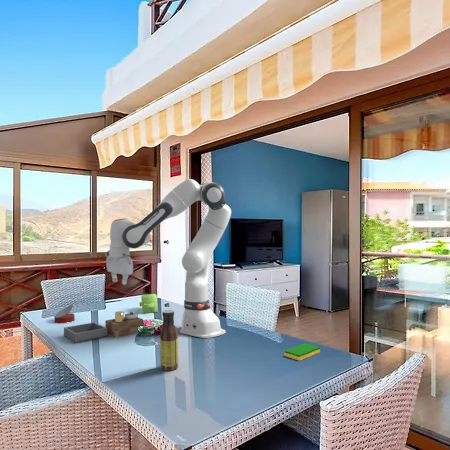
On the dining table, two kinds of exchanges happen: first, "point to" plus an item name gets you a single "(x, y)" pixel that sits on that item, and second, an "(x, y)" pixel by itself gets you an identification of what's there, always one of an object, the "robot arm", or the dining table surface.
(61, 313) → the canned food
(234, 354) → the dining table surface
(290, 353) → the dish sponge
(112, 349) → the dining table surface
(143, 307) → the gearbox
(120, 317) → the pin
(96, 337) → the pin tray
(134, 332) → the brown wooden box
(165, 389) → the dining table surface
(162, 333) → the sauce bottle
